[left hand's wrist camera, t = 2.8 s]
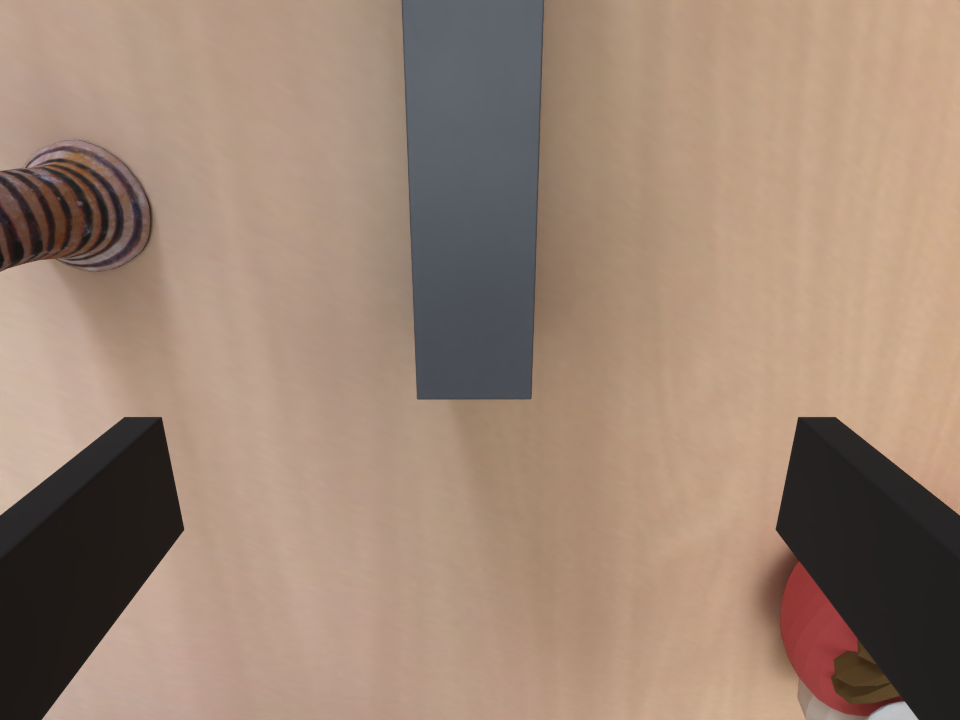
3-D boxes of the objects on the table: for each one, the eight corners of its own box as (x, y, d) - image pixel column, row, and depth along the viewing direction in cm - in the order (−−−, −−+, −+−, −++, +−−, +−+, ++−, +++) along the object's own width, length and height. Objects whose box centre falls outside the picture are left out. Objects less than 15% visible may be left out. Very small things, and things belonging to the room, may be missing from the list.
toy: (949, 936, 43) (808, 722, 31) (849, 789, 52) (710, 581, 40) (1195, 809, 41) (1144, 530, 29) (1045, 680, 50) (961, 429, 38)
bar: (519, 340, 36) (531, 399, 28) (430, 341, 36) (416, 399, 28) (532, -226, 27) (555, -384, 19) (413, -226, 27) (386, -384, 19)
